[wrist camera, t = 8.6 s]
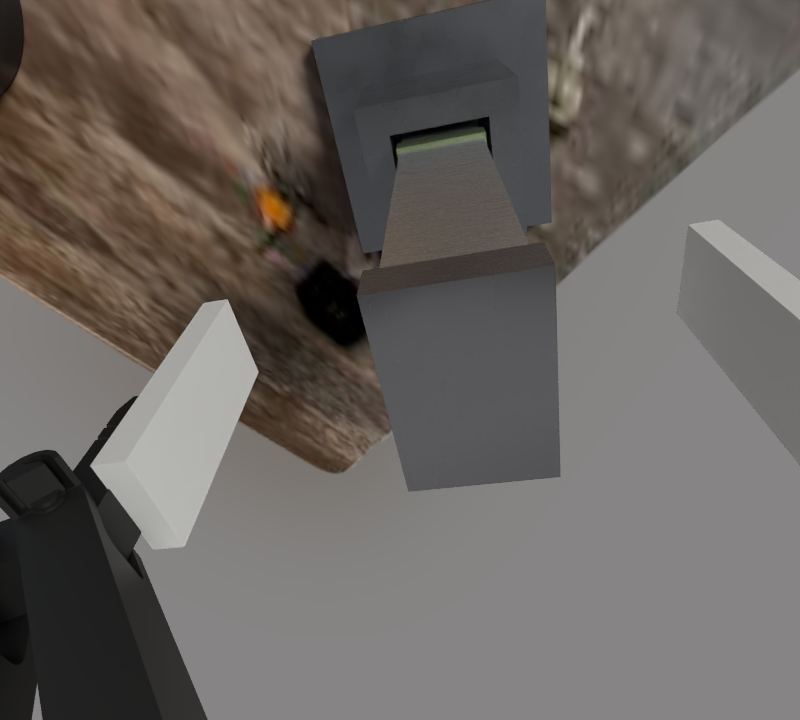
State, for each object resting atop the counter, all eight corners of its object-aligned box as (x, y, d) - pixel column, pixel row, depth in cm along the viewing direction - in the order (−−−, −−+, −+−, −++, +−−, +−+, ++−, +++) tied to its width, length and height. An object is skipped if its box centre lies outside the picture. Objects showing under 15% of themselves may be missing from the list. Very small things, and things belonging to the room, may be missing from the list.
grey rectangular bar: (415, 220, 31) (402, 492, 14) (396, 113, 28) (349, 296, 11) (487, 208, 31) (566, 476, 13) (476, 97, 28) (563, 264, 10)
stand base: (365, 243, 41) (348, 311, 32) (316, 39, 33) (276, 53, 24) (546, 213, 39) (582, 276, 30) (539, -12, 31) (584, -17, 22)
